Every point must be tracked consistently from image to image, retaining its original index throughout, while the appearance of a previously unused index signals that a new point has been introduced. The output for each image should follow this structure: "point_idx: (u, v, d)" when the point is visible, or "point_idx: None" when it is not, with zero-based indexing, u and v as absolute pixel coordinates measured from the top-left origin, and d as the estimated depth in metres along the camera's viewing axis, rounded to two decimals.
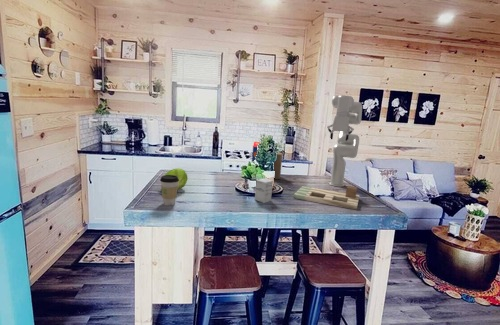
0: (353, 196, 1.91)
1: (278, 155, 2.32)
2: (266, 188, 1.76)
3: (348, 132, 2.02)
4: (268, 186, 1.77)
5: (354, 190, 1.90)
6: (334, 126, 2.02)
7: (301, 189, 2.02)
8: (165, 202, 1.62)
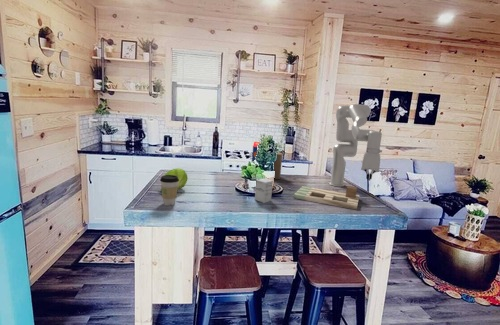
0: (353, 196, 1.91)
1: (278, 155, 2.32)
2: (266, 188, 1.76)
3: None
4: (268, 186, 1.77)
5: (354, 190, 1.90)
6: (364, 164, 1.86)
7: (301, 189, 2.02)
8: (165, 202, 1.62)
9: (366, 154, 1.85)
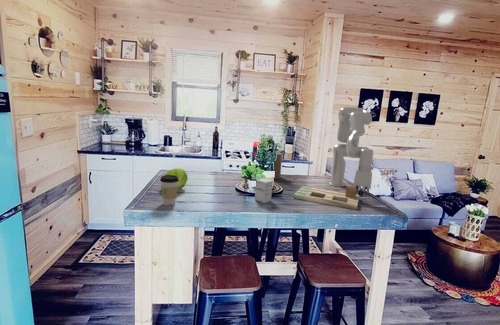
0: (353, 196, 1.91)
1: (278, 155, 2.32)
2: (266, 188, 1.76)
3: None
4: (268, 186, 1.77)
5: (354, 190, 1.90)
6: (356, 180, 1.90)
7: (301, 189, 2.02)
8: (165, 202, 1.62)
9: (358, 171, 1.88)
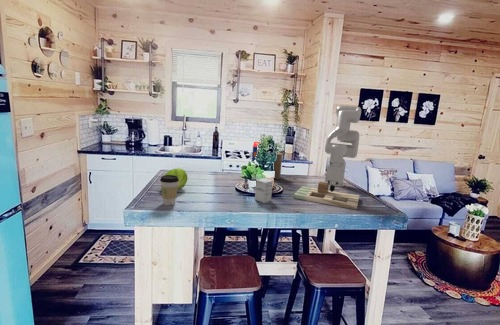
0: (324, 192, 1.96)
1: (278, 155, 2.32)
2: (266, 188, 1.76)
3: None
4: (268, 186, 1.77)
5: (325, 186, 1.96)
6: (327, 176, 1.96)
7: (301, 189, 2.02)
8: (165, 202, 1.62)
9: (329, 167, 1.95)
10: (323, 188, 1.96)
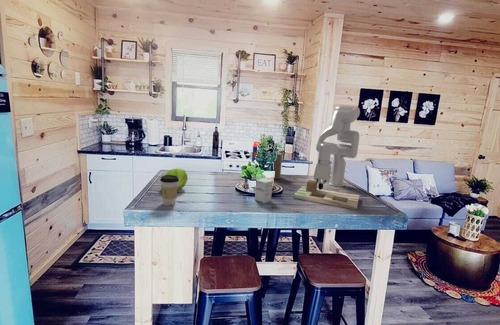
0: (313, 190, 1.99)
1: (278, 155, 2.32)
2: (266, 188, 1.76)
3: (323, 181, 2.00)
4: (268, 186, 1.77)
5: (314, 184, 1.98)
6: (316, 174, 1.99)
7: (301, 189, 2.02)
8: (165, 202, 1.62)
9: (317, 165, 1.97)
10: (311, 186, 1.99)
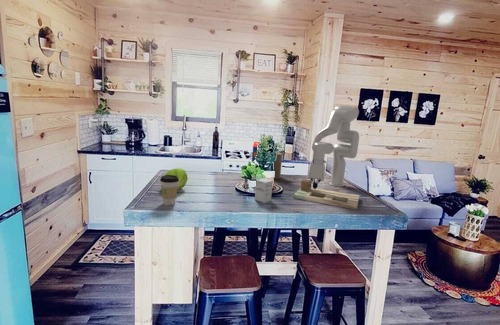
0: (307, 189, 2.00)
1: (278, 155, 2.32)
2: (266, 188, 1.76)
3: None
4: (268, 186, 1.77)
5: (308, 183, 1.99)
6: (310, 173, 2.00)
7: None
8: (165, 202, 1.62)
9: (312, 164, 1.99)
10: (306, 185, 2.00)
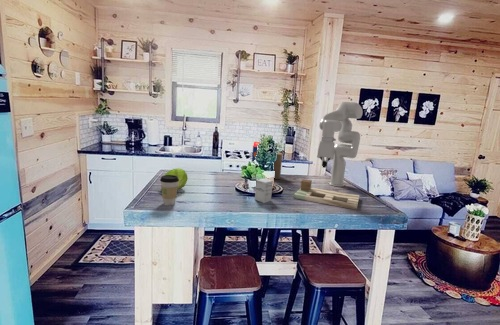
0: (307, 189, 2.00)
1: (278, 155, 2.32)
2: (266, 188, 1.76)
3: None
4: (268, 186, 1.77)
5: (308, 183, 1.99)
6: (319, 152, 1.96)
7: None
8: (165, 202, 1.62)
9: (321, 142, 1.95)
10: (306, 185, 2.00)
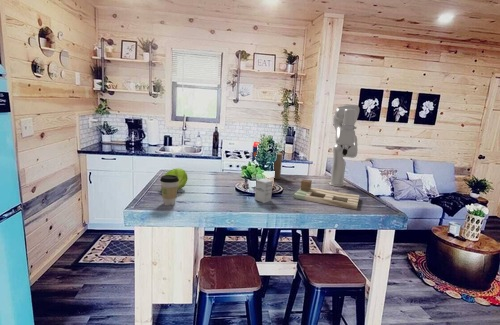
0: (307, 189, 2.00)
1: (278, 155, 2.32)
2: (266, 188, 1.76)
3: (347, 147, 2.02)
4: (268, 186, 1.77)
5: (308, 183, 1.99)
6: (340, 139, 2.00)
7: None
8: (165, 202, 1.62)
9: (342, 130, 1.99)
10: (306, 185, 2.00)
